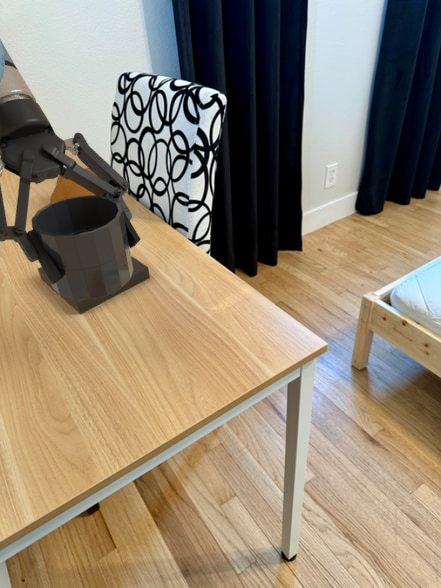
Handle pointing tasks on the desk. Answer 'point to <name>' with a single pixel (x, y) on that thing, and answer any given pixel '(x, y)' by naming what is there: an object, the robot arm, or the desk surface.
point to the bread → (68, 189)
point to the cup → (86, 245)
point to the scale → (84, 305)
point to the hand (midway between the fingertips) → (98, 261)
